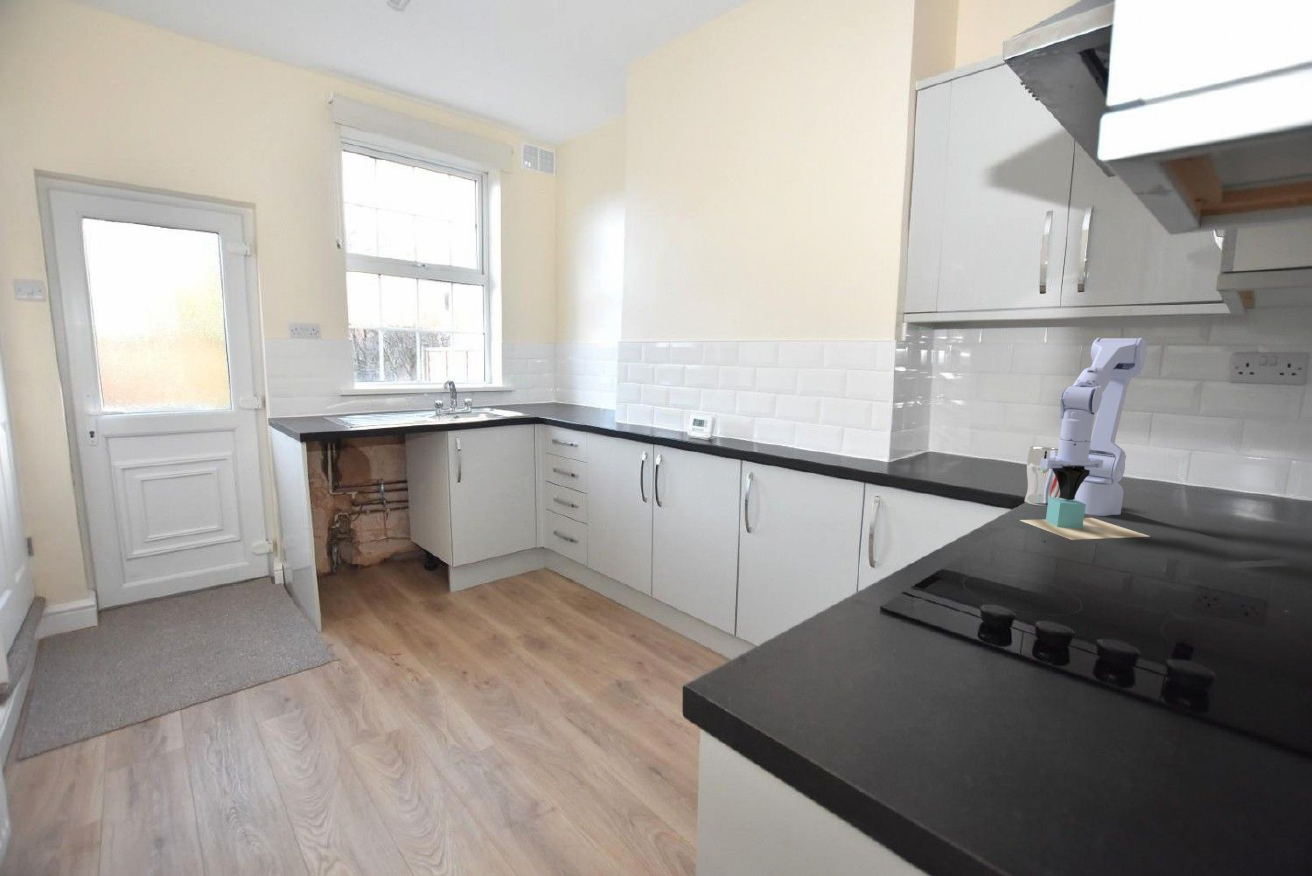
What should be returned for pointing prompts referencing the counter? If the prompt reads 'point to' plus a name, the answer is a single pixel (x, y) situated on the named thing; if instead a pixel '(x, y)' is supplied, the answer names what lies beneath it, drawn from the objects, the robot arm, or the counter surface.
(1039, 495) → the beer glass
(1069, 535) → the board
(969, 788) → the counter surface
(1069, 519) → the teal foam cube
